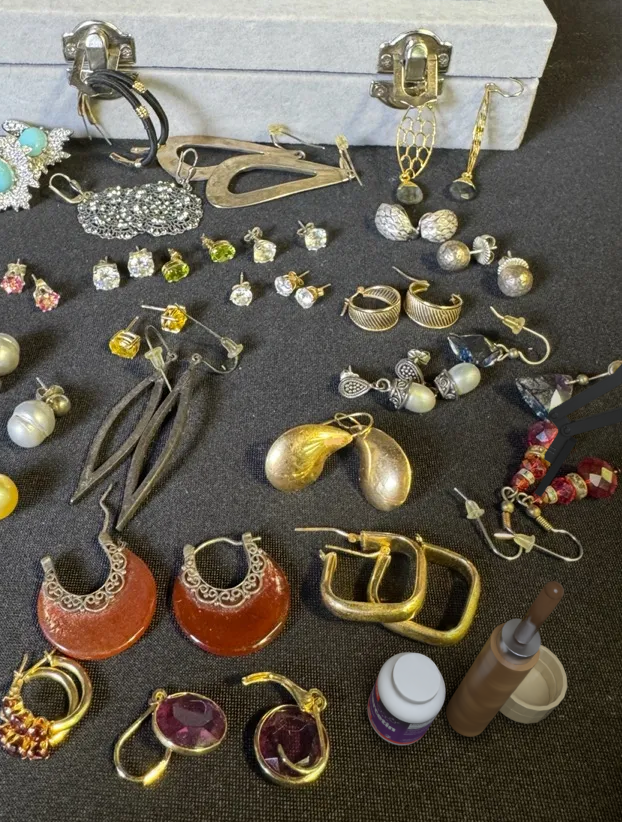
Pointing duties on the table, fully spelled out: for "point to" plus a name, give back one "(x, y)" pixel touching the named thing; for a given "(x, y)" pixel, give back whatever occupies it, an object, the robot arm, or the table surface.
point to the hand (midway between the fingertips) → (601, 531)
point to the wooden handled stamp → (528, 627)
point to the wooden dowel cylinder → (485, 688)
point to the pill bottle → (406, 698)
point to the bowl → (538, 690)
